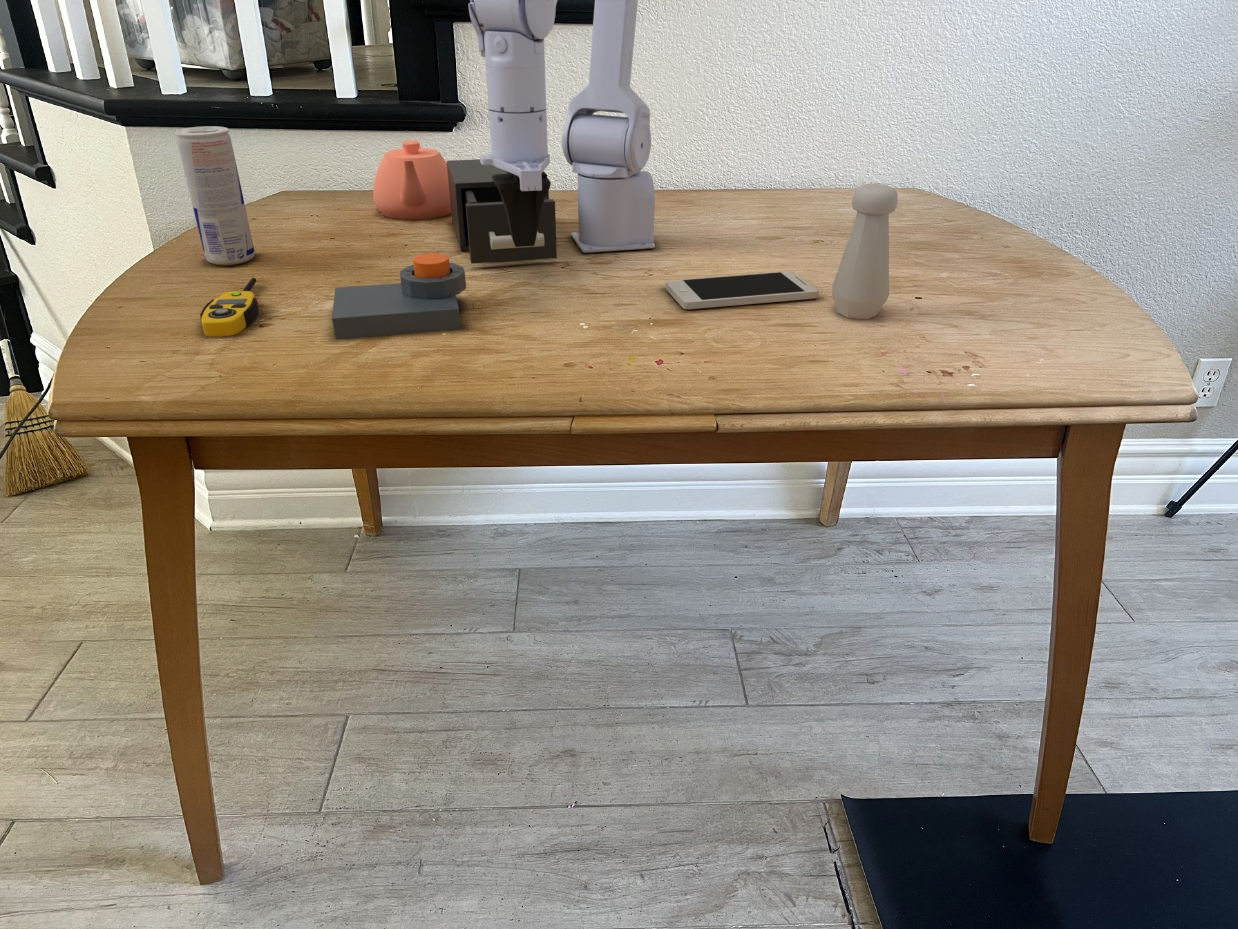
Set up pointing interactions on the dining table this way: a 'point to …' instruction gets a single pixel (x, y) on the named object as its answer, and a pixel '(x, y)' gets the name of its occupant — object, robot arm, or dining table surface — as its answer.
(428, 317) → the block
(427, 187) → the teapot
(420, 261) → the button
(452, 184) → the small drawer cabinet
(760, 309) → the dining table surface
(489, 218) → the pull-out drawer
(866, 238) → the salt shaker
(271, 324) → the dining table surface
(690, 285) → the smartphone
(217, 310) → the yellow walkie talkie
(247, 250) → the beverage can
